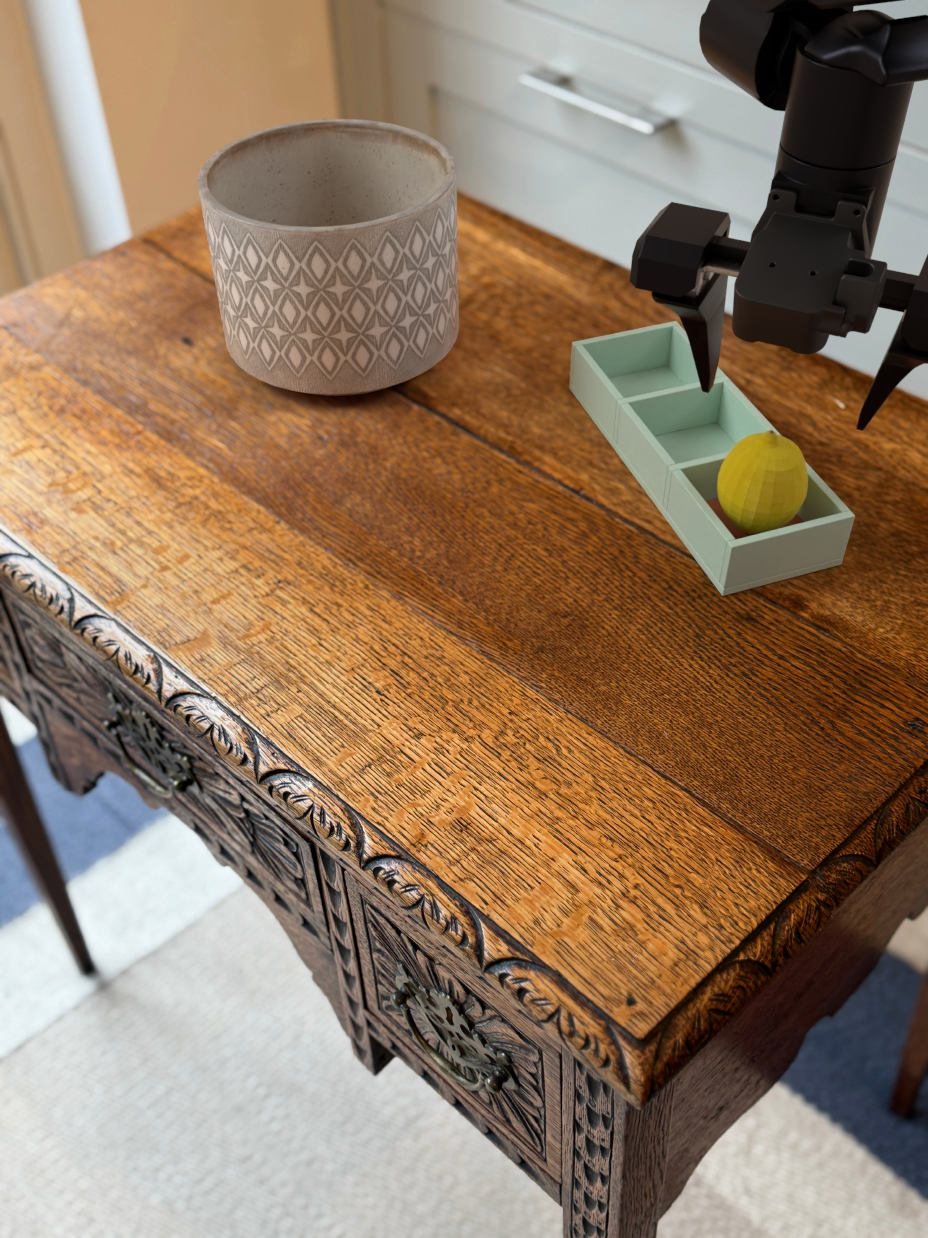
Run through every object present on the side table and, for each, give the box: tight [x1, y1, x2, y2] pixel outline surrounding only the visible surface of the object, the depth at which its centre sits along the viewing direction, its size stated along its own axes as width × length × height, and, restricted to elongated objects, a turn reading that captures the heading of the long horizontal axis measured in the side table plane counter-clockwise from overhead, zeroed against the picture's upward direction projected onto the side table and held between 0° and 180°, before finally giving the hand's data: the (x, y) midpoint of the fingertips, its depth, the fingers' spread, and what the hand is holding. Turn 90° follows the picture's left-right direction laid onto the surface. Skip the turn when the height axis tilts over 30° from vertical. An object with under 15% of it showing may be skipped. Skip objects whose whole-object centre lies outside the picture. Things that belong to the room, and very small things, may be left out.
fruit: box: [717, 430, 808, 534], centre depth 74 cm, size 6×6×8 cm
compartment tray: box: [568, 320, 856, 597], centre depth 82 cm, size 25×9×4 cm, turn 19°
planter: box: [197, 118, 460, 397], centre depth 90 cm, size 19×19×14 cm
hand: (782, 407), depth 70 cm, fingers open, 9 cm apart
